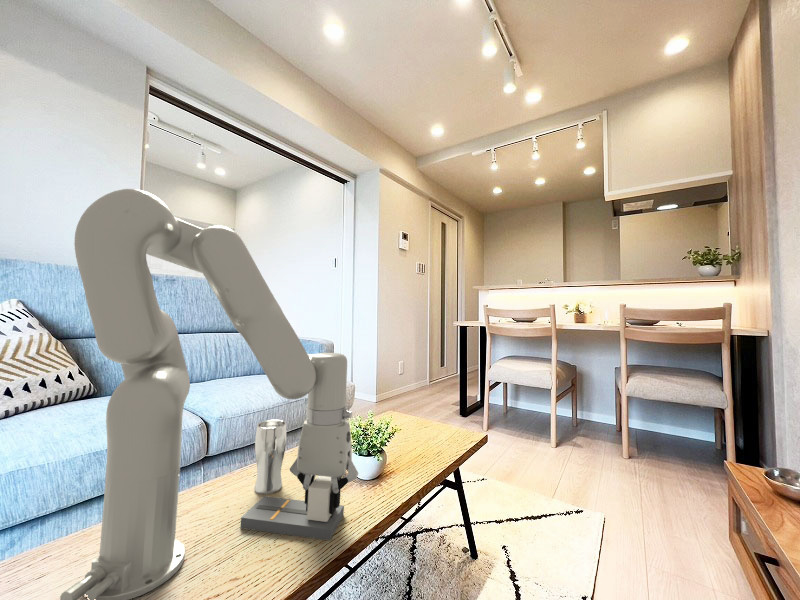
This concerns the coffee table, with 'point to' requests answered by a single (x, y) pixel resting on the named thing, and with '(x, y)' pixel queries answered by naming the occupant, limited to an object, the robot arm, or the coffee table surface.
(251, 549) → the coffee table surface
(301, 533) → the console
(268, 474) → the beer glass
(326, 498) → the fader knob
